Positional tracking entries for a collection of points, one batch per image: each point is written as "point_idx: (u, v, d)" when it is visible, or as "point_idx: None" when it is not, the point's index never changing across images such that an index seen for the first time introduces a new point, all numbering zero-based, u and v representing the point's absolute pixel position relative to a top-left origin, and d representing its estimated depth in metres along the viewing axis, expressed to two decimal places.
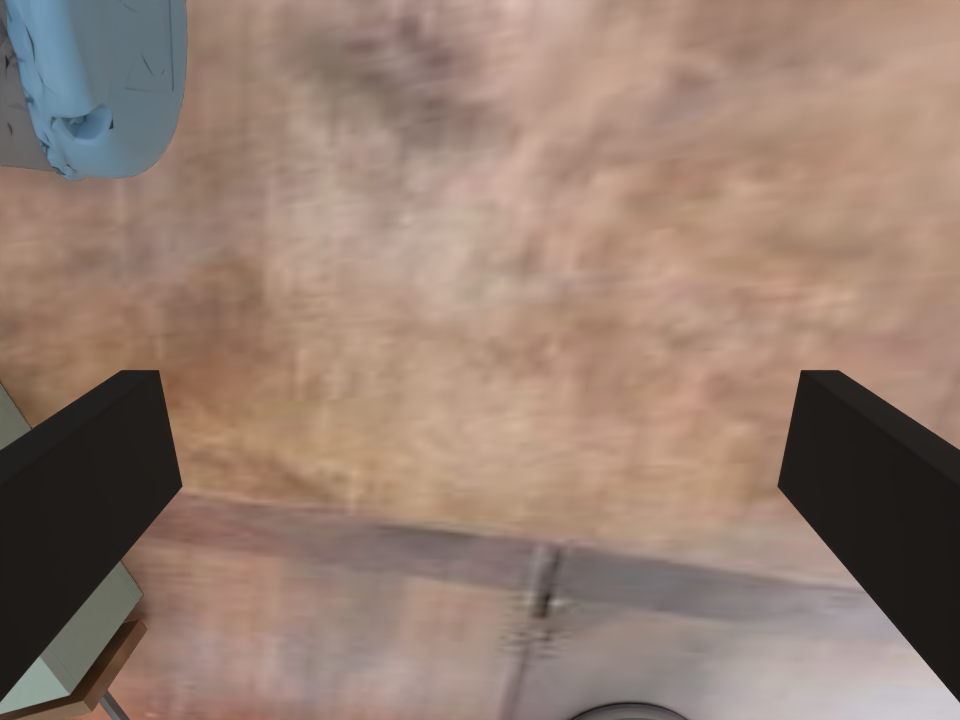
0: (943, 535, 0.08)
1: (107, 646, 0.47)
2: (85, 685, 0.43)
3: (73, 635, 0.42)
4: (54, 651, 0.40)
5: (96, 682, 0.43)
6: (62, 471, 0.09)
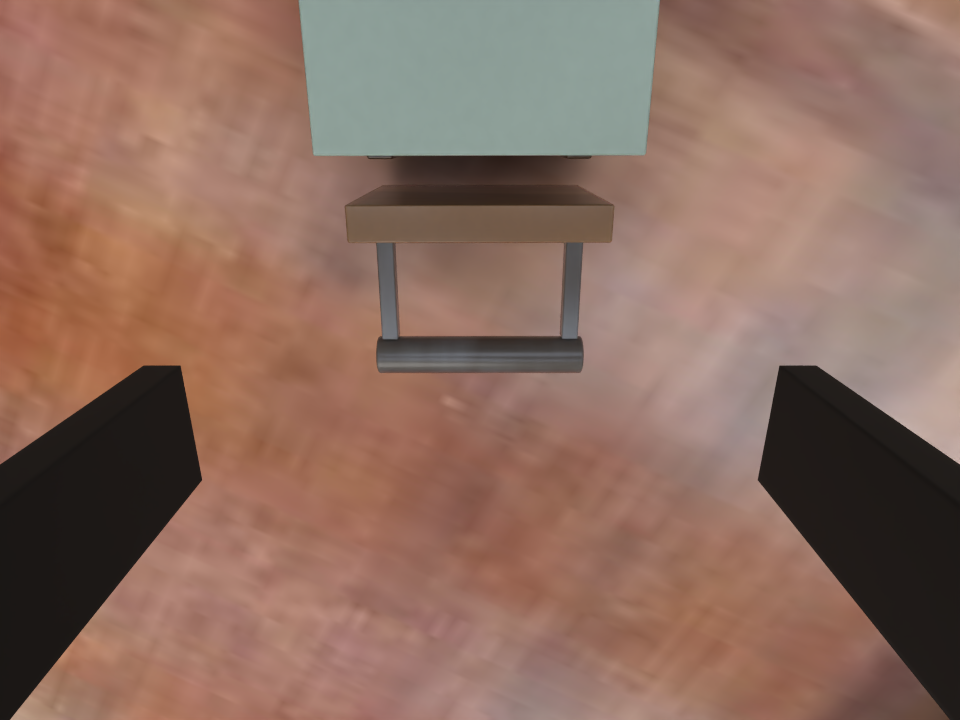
0: (908, 524, 0.09)
1: (550, 190, 0.24)
2: (580, 199, 0.20)
3: None
4: None
5: (605, 201, 0.20)
6: (92, 462, 0.09)
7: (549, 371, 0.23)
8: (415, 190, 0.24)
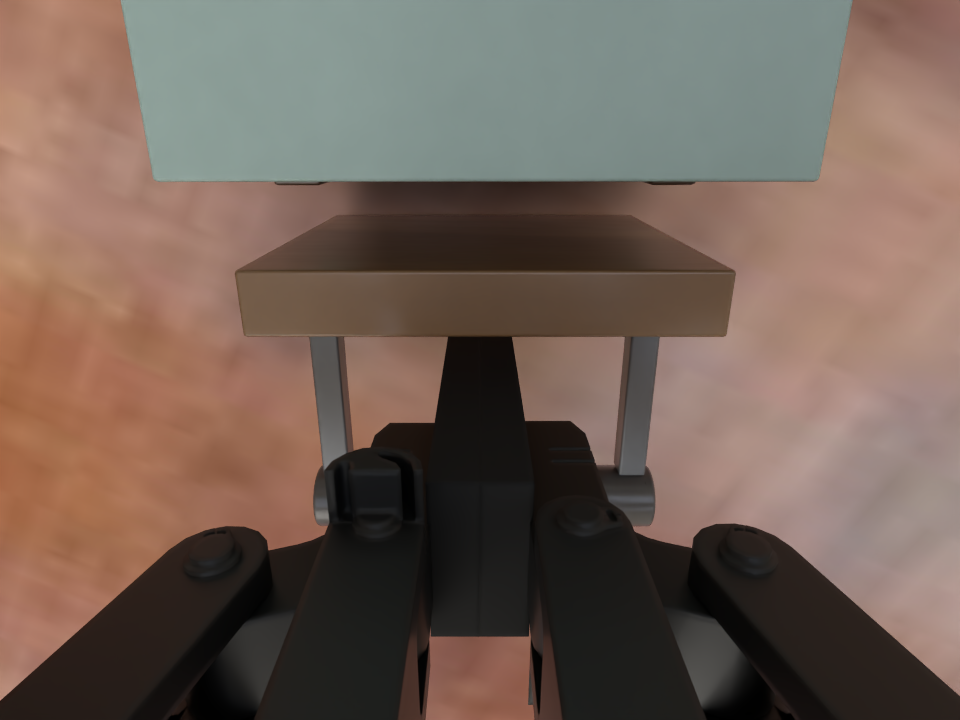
0: None
1: (595, 227, 0.15)
2: (663, 254, 0.12)
3: None
4: None
5: (704, 256, 0.12)
6: None
7: None
8: (382, 227, 0.15)
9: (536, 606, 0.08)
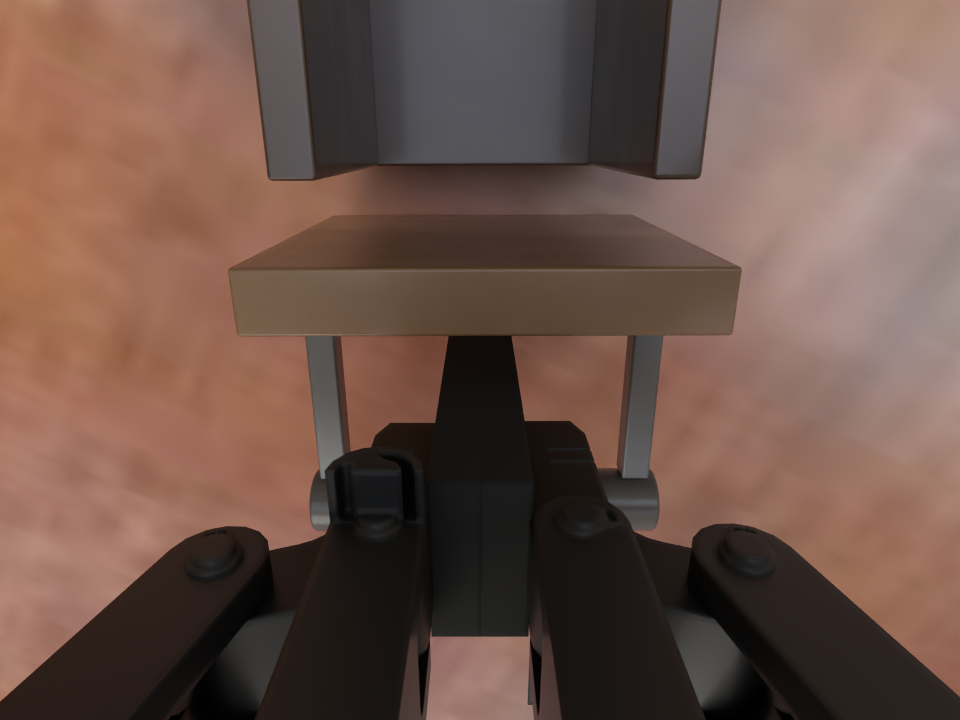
0: None
1: (596, 225, 0.15)
2: (666, 251, 0.11)
3: None
4: None
5: (709, 253, 0.11)
6: None
7: None
8: (379, 226, 0.15)
9: (535, 606, 0.08)
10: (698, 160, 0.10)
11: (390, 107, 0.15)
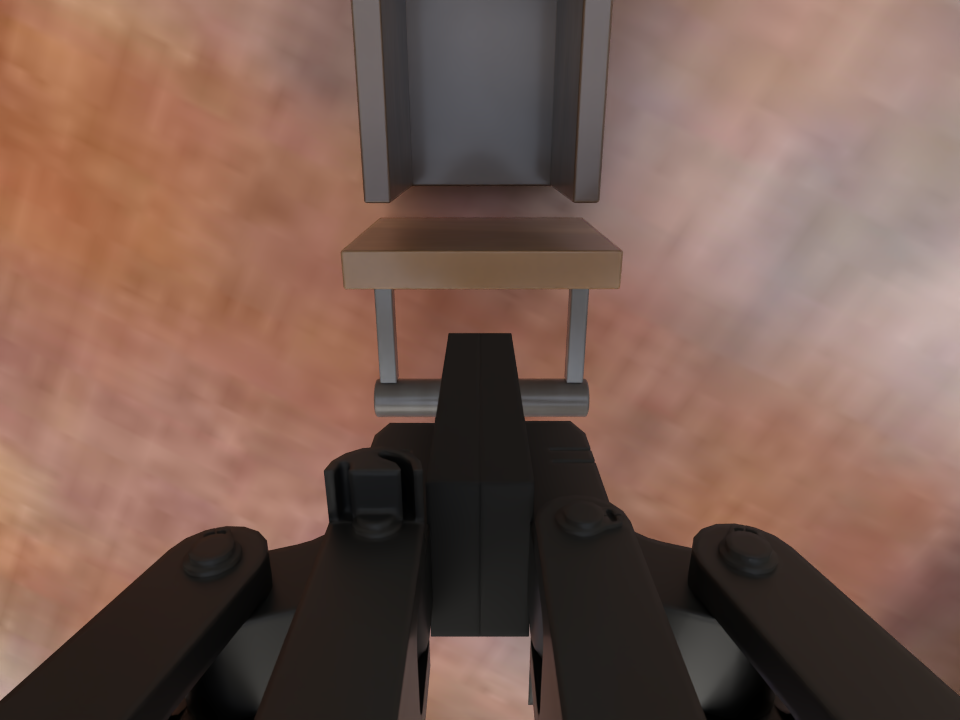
0: None
1: (554, 225, 0.23)
2: (587, 242, 0.19)
3: None
4: None
5: (612, 243, 0.20)
6: None
7: (554, 416, 0.22)
8: (414, 226, 0.23)
9: (536, 606, 0.08)
10: (597, 192, 0.18)
11: (421, 148, 0.23)
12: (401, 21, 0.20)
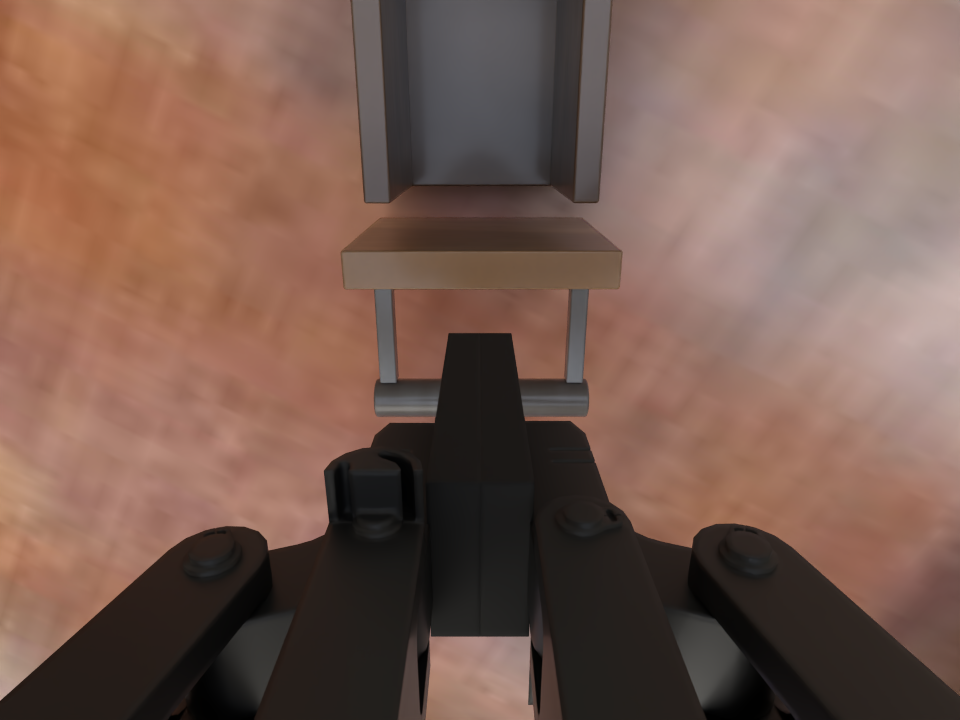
0: None
1: (554, 225, 0.23)
2: (586, 242, 0.19)
3: None
4: None
5: (612, 243, 0.20)
6: None
7: (554, 416, 0.22)
8: (414, 226, 0.23)
9: (536, 606, 0.08)
10: (597, 192, 0.18)
11: (421, 148, 0.23)
12: (401, 21, 0.20)
